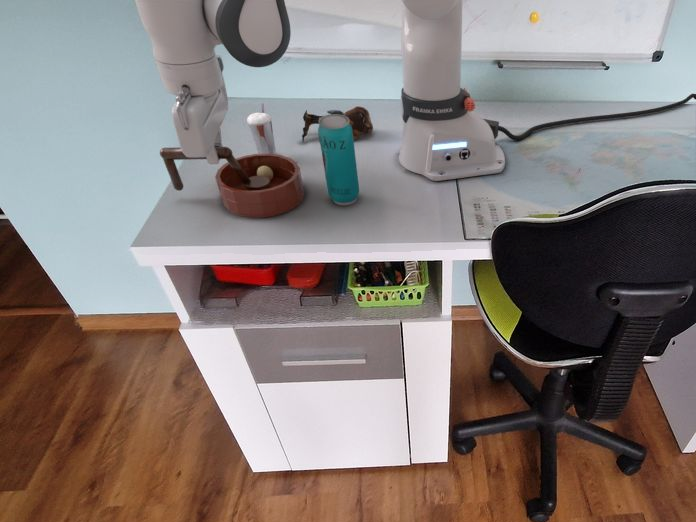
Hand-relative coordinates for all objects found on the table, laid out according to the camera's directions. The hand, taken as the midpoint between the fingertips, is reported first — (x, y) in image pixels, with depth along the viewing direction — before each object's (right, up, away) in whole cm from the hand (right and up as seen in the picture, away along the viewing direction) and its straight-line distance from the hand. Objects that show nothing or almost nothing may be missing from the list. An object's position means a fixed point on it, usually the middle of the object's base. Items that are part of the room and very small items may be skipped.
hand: (216, 157), depth 95 cm
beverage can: (+21, -6, +7) cm, 23 cm away
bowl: (+6, -5, +6) cm, 10 cm away
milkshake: (+3, +6, +17) cm, 19 cm away
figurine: (+16, +14, +26) cm, 33 cm away
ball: (+6, 0, +8) cm, 10 cm away
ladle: (-1, -4, +4) cm, 6 cm away
